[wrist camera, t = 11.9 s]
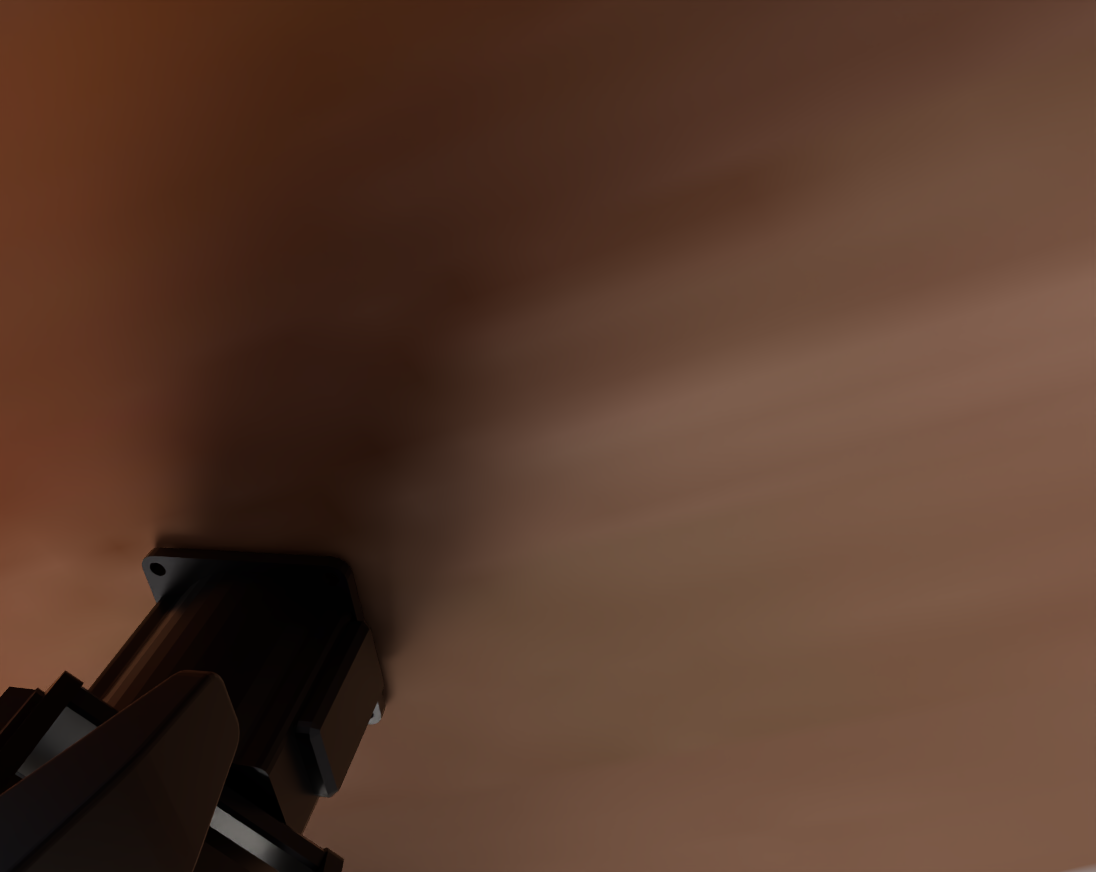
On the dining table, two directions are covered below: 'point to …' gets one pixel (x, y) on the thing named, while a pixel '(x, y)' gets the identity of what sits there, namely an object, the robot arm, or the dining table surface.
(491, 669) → the dining table surface
